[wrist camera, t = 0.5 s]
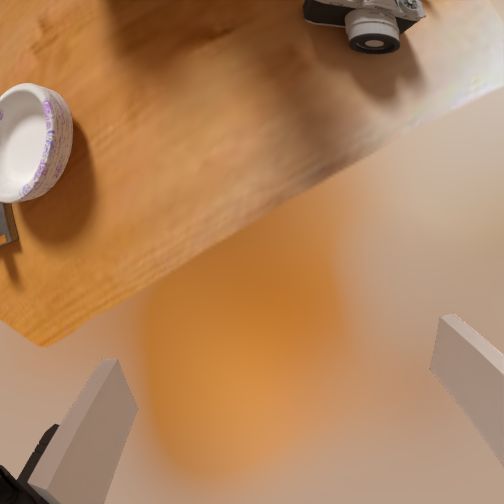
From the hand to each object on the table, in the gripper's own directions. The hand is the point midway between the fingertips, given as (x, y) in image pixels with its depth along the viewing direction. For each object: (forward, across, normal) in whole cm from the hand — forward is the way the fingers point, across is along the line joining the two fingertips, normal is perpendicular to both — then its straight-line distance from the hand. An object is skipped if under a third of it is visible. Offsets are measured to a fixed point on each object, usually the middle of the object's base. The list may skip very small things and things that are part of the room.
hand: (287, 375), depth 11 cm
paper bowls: (+28, -28, +17) cm, 43 cm away
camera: (+28, +16, +26) cm, 42 cm away
